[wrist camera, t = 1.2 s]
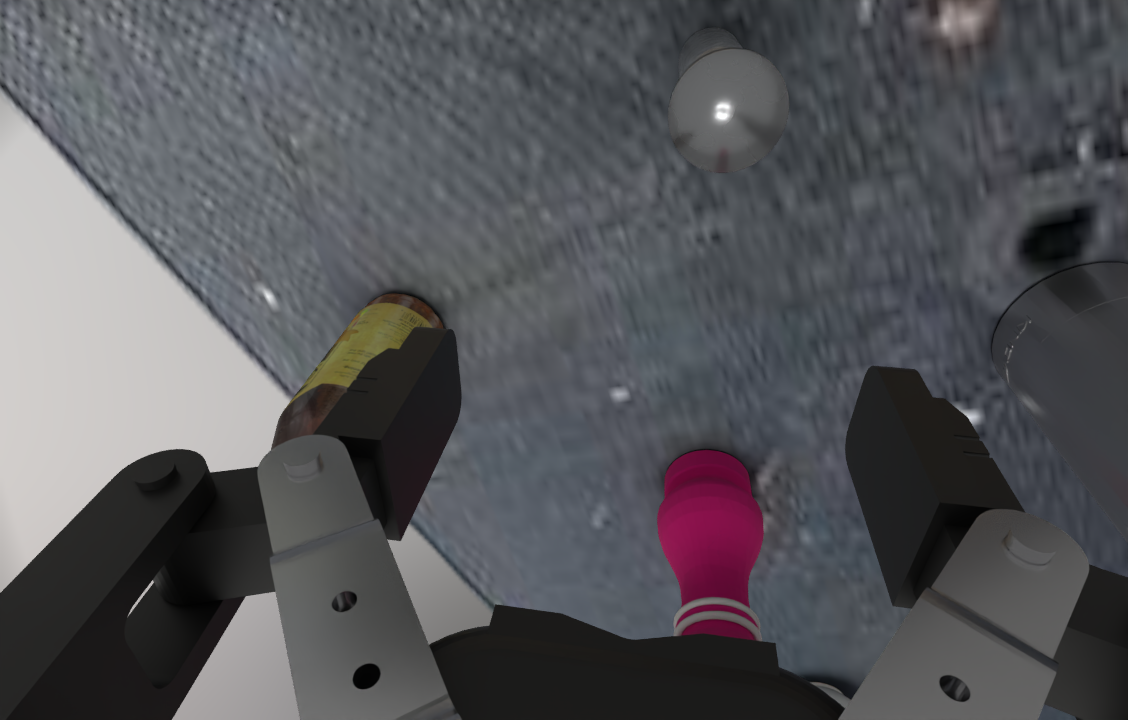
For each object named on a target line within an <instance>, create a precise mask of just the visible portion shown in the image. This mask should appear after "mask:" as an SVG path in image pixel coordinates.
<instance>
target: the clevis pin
mask: <svg viewBox="0 0 1128 720" xmlns="http://www.w3.org/2000/svg"><path fill="white" fill-rule="evenodd" d="M678 65H679V79H678V81H677V83H676V85H675V87H674V89H673V91H672V94H671V97H670V102H669V109H668V124H669V130H670V134H671V137H672V140H673V142H674V144H675V146H676V148H677V149H678V151H679V152H680V154H681V155H682V156H683V157H684V158H685V159H686V160H687V161H689V162H690V163H691V164H693V165H695V166H696V167H698V168H701V169H703V170H706V171H710V172H716V173H728V172H735V171H739V170H742V169H745V168H747V167H749V166H751V165H753V164H755V163H756V162H758V161H760V160H761V159H762V158H763V157H765V156H766V155H767V154H768V153H769V152H770V151H771V150H772V149H773V147H774V146H775V145H776V143H777V142H778V140H779V139H780V137H781V135H782V133H783V131H784V129H785V126H786V123H787V119H788V113H789V96H788V91H787V87H786V84H785V82H784V79H783V78H782V76H781V74H780V72H779V71H778V70H777V69H776V67H775V66H774V65H773V64H772V63H771V62H770V61H769V60H768V59H767V58H765V57H764V56H762V55H761V54H759V53H757V52H755V51H753V50H749V49H746V48H742V46H741V45H740V43H739V42H738V40H737V39H736V38H735V36H734V35H732V34H731V33H730V32H729V31H727V30H725V29H722V28H717V27H710V28H705V29H702V30H700V31H698V32H696V33H695V34H693V35H692V36H691V37H690V38H689V39H688V40H687V42H686V43H685V44H684V46H683V48H682V50H681V53H680V56H679V64H678Z"/></svg>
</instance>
